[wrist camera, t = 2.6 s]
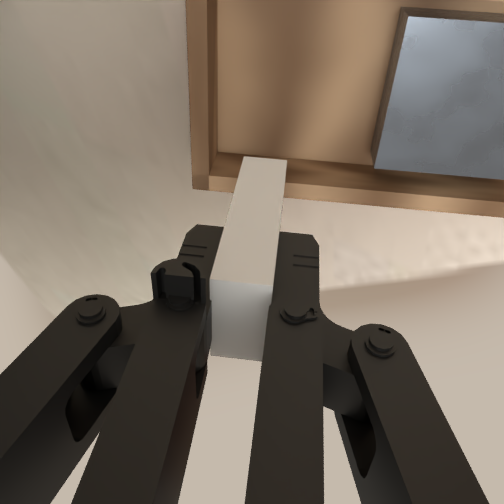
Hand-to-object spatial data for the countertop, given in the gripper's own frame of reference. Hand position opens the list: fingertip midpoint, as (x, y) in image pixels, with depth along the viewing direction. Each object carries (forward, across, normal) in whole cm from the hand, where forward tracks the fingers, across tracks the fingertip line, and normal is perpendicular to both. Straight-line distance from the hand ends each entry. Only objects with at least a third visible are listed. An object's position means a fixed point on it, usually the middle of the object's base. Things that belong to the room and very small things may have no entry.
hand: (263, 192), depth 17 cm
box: (+14, +6, 0) cm, 15 cm away
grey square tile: (+13, +10, 0) cm, 16 cm away
